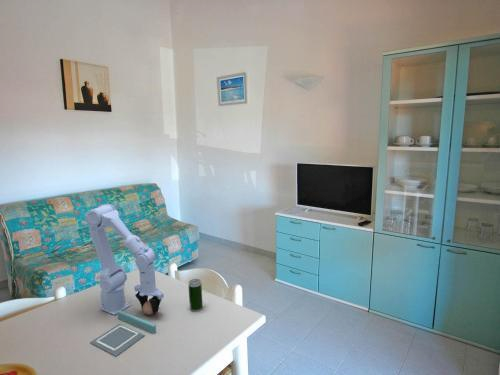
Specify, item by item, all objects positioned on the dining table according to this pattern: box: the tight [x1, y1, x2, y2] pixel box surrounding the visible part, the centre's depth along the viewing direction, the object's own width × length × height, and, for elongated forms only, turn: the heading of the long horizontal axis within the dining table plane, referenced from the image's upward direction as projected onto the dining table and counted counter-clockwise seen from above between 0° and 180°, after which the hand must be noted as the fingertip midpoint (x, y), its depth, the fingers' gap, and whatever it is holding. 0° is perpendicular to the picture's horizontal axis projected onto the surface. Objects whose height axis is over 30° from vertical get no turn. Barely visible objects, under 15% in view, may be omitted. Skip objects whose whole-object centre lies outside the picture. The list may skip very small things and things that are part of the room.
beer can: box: [188, 278, 203, 312], centre depth 127 cm, size 5×5×12 cm
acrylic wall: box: [116, 310, 157, 335], centre depth 118 cm, size 20×1×3 cm, turn 60°
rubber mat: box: [89, 323, 146, 358], centre depth 110 cm, size 14×12×1 cm
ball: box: [142, 300, 154, 316], centre depth 125 cm, size 6×6×6 cm
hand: (150, 310), depth 125 cm, fingers closed on ball, 5 cm apart
